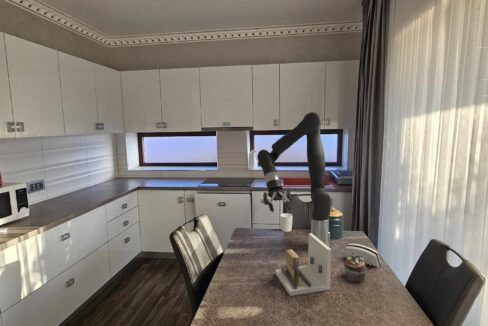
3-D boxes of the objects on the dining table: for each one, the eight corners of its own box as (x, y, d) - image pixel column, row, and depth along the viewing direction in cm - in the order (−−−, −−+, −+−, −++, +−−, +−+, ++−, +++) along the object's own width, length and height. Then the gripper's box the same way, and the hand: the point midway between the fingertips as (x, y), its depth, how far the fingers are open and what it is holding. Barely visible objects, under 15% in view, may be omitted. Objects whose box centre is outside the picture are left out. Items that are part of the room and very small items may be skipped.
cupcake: (340, 278, 133) (341, 257, 131) (347, 269, 141) (348, 249, 139) (362, 285, 127) (363, 263, 126) (368, 275, 135) (370, 255, 133)
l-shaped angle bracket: (310, 268, 142) (311, 233, 139) (330, 289, 125) (331, 249, 122) (275, 273, 138) (275, 237, 135) (290, 296, 120) (290, 254, 118)
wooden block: (291, 269, 137) (291, 249, 136) (299, 279, 129) (299, 258, 127) (285, 270, 136) (285, 250, 135) (293, 280, 128) (293, 258, 126)
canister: (345, 233, 184) (346, 206, 182) (341, 241, 173) (342, 212, 170) (324, 230, 190) (324, 203, 188) (319, 237, 179) (319, 209, 176)
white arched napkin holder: (381, 263, 146) (380, 248, 142) (378, 270, 143) (377, 254, 139) (348, 253, 157) (346, 239, 153) (345, 259, 154) (343, 244, 150)
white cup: (293, 228, 194) (293, 213, 192) (291, 232, 187) (291, 217, 185) (281, 227, 197) (281, 212, 195) (279, 231, 189) (279, 216, 188)
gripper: (261, 179, 148) (268, 208, 139) (287, 177, 151) (297, 205, 142) (258, 187, 154) (265, 215, 144) (284, 185, 157) (292, 212, 148)
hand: (281, 210), depth 143 cm, fingers open, 8 cm apart
